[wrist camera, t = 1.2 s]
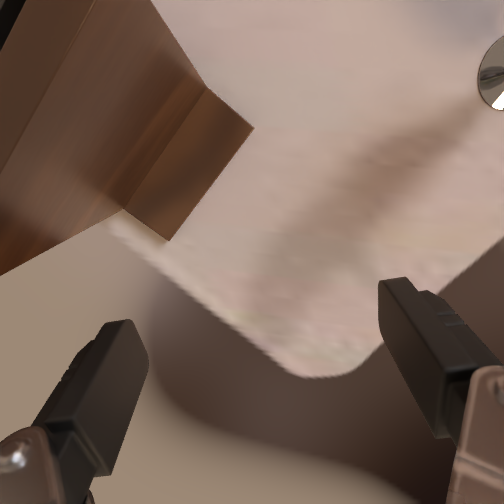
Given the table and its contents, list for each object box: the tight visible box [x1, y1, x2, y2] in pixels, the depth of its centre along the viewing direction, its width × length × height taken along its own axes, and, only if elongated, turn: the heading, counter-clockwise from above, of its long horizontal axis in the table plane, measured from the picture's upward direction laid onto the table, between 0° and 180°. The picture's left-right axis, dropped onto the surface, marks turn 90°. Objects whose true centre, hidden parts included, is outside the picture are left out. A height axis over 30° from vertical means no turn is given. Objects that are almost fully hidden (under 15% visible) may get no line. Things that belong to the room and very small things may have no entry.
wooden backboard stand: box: [0, 0, 254, 276], centre depth 22 cm, size 19×15×24 cm
